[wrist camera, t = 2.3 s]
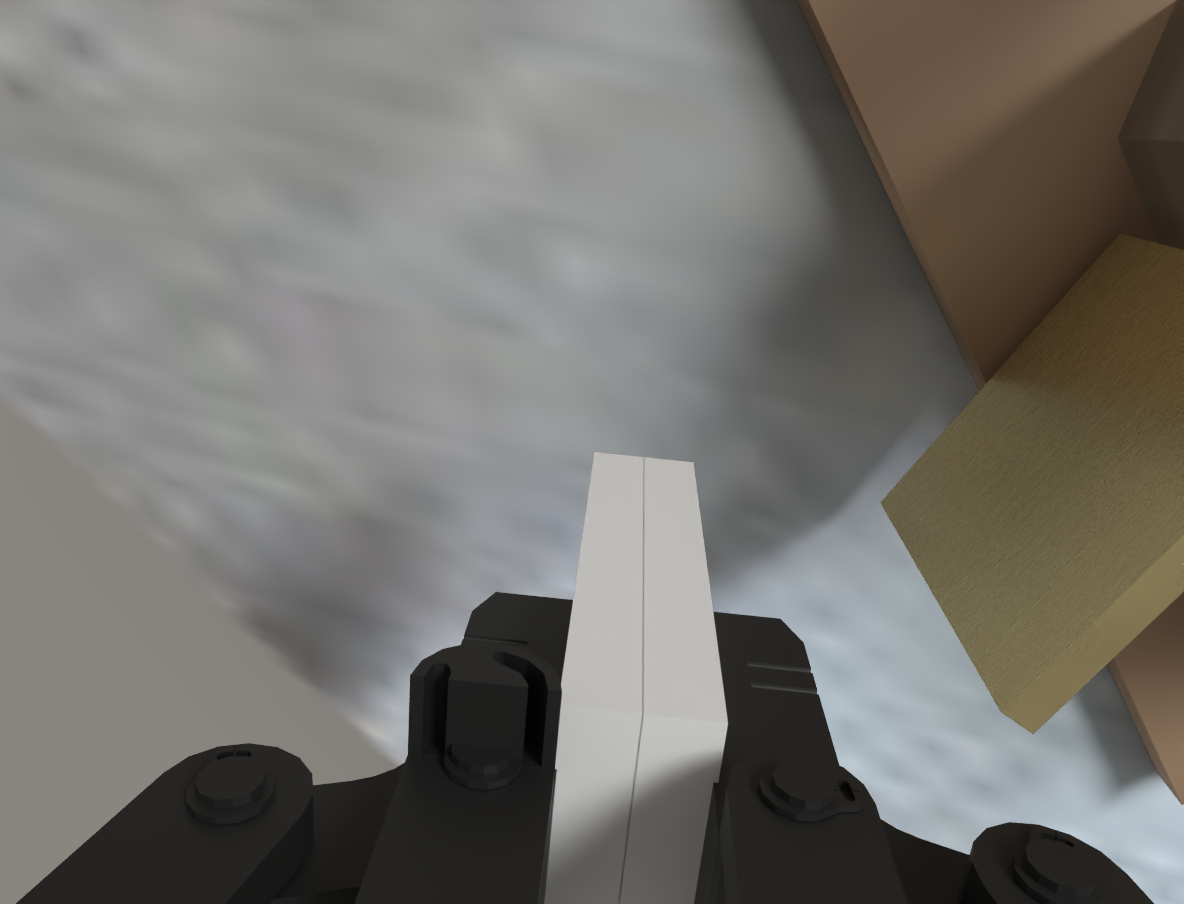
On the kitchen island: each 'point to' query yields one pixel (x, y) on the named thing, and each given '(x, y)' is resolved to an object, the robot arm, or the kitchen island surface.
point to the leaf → (1062, 488)
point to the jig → (1026, 189)
